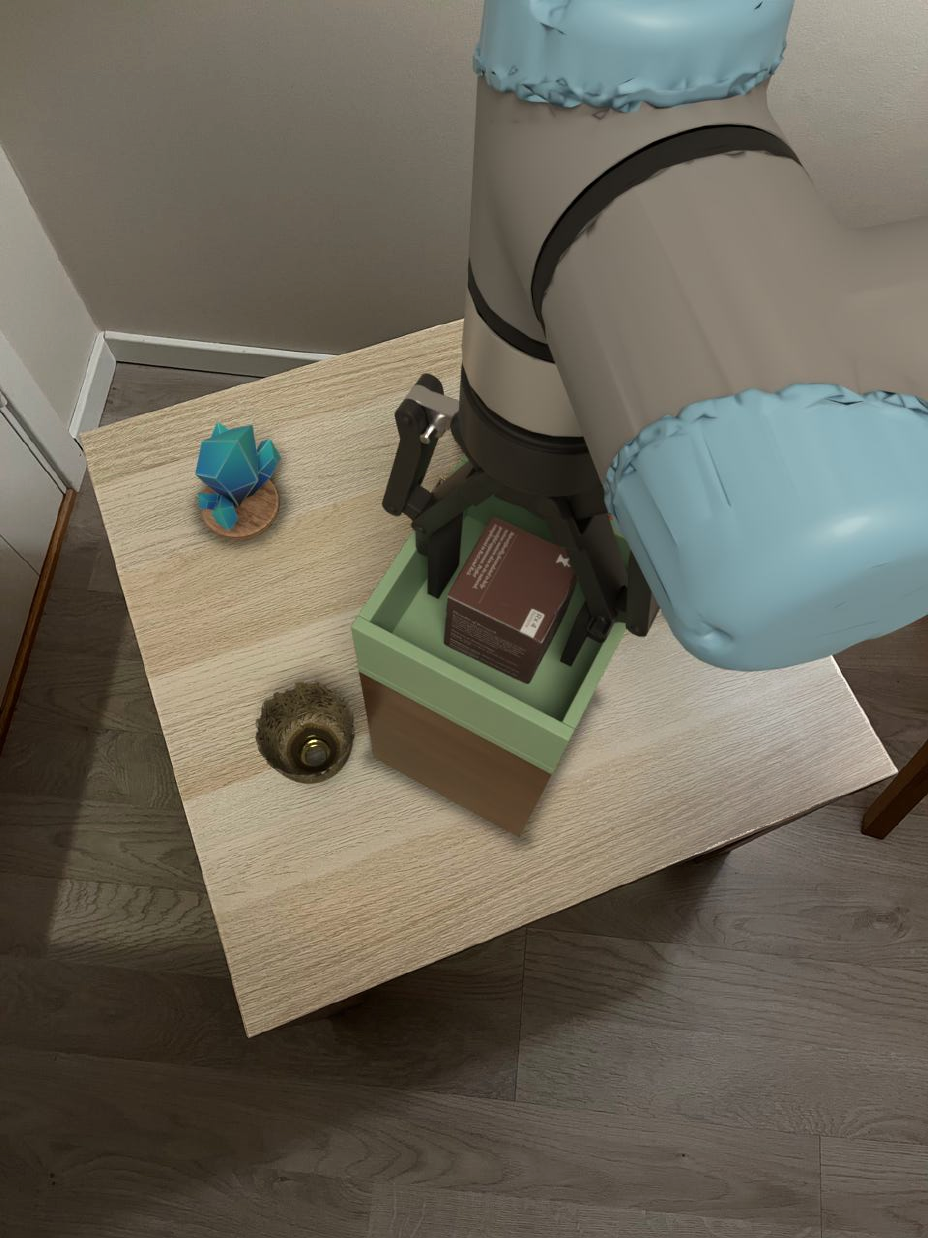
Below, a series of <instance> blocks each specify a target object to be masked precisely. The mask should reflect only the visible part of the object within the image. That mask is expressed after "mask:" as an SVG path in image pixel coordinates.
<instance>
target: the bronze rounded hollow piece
mask: <svg viewBox="0 0 928 1238" xmlns="http://www.w3.org/2000/svg"><path fill="white" fill-rule="evenodd" d="M255 727H256V729H257V731H256V733H255V736H254V737H255V738H254V739H255V741H256V746H257V750H258V752H259V755H260V756H262V758H263V759H264V760H265V761H266V764H267V765H268V766H270V767H271V768H273V769H274V770H275V771H276V772H277V773H279V774H280V775H282V776H283V777H285V778H286V779H289V780H290V781H293V782H295V783H300V784H305V785H311V784H312V785H313V784H319V783H322V782H326V781H328V780H330V779H331V778H333V777H335V776H336V775H337V774H338V773H340V771H341V770H343V768H344V767H345V766H346V764H347V763H348V760H349V758H350V757H351V753H352V750H353V745H354V739H355V734H356V726H355V715H354V712H353V709H352V708H351V706H350V704H349V702H348V701H347V700H345V699H344V698H342V696H341V694H340V693H339V691H338V690H337V689H333V690H331V689H330V688H329V687H328V686H327V685H326V684H324V683H323V682H320V681H316V680H315V681H311V682H304V681H297V682H295V683H294V688H291V689H286V690H285V691H284V692H279V691H275V692H274V693H273V695H272V698H269V699H266V700H264V701H263V703H262V705H261V709H260V717H257V718H256V719H255ZM316 747H317V748H318V747H319V748H321V749H323V751H324V752H325V759H324V761H323V762H322V763H320V764H317V765H313V764H311V763H310V762H309V761H308V759H307V754H308V752H309V751H310V750H311V749H312V748H316Z"/></svg>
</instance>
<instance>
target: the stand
mask: <svg viewBox="0 0 928 1238" xmlns="http://www.w3.org/2000/svg"><path fill="white" fill-rule="evenodd" d="M615 653H616V651H615V652H614V654H615ZM358 675H359V681H360V686H361V693H362V697H363V704H364V708H365V714H366V721H367V725H368V732H369V738H370V742H371V748H372V753H373V758H374V759H375V760H377V761H379V762H381V763H383V764H385V765H386V766H388V767H390V768H391V769H394V770H395V771H397V772H399V773H401V774H403V775H405V776H406V777H408V778H410V779H411V780H414V781H416V782H417V783H419V784H421V785H422V786H424V787H426V788H427V789H429V790H432V791H434V792H435V793H436V794H439V795H441V796H442V797H445V798H446V799H448V800H450V801H452V802H454V803H456V804H458V805H459V806H460V807H463V808H464V809H466V810H468V811H470V812H472V813H474V814H475V815H477V816H479V817H481V818H483V819H484V820H486V821H488V822H489V823H492V824H493V825H496V826H497V827H499V828H500V829H503V830H504V831H506V832H508V833H510V834H512V835H514V836H515V837H517V838H518V839H519V838H521V837H522V834H523V832H524V830H525V828H526V826H527V824H528V822H529V820H530V818H531V817H532V814H533V813H534V811H535V809H536V807H537V805H538V802H539V801H540V799H541V797H542V795H543V793H544V791H545V789H546V788H547V785H548V783H549V781H550V779H551V777H552V775H553V774H550V773H548V772H546V771H544V770H543V769H541V768H539V767H537V766H535V765H533V764H531V763H529V762H528V761H526V760H524V759H522V758H520V757H518V756H516V755H514V754H513V753H511V752H509V751H507V750H505V749H503V748H501V747H500V746H498V745H496V744H494V743H492V742H490V741H488V740H486V739H485V738H483V737H481V736H479V735H477V734H475V733H473V732H471V731H470V730H468V729H466V728H464V727H462V726H460V725H458V724H456V723H455V722H453V721H451V720H449V719H447V718H445V717H443V716H441V715H440V714H438V713H436V712H434V711H432V710H430V709H428V708H427V707H425V706H423V705H421V704H419V703H417V702H415V701H413V700H412V699H410V698H408V697H406V696H404V695H402V694H400V693H398V692H397V691H395V690H393V689H391V688H389V687H387V686H385V685H383V684H382V683H380V682H378V681H376V680H374V679H372V678H370V677H368V676H367V675H365V674H363V673H361V672H359V671H358Z"/></svg>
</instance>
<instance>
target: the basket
mask: <svg viewBox="0 0 928 1238" xmlns="http://www.w3.org/2000/svg"><path fill="white" fill-rule="evenodd" d="M467 461H469V460H468V458H467V457H466V455H465V454H464V453H463V455H462V457H461V458H460V460H459V461H458V462H457V464H456V465H455V466H454V468H453V470H452V471H451V473H450V475H452V474H453V473H454V472H455V471H457V470H458V469H459V468H460V467H461V466H463V465H464V464H465V463H466V462H467ZM492 517H496V518H498V519H500V520H503V521H505V522H507V523H509V524H511V525H513V526H516V527H518V528H520V529H522V530H524V531H526V532H529V533H531V534H533V535H535V536H537V537H539V538H541V539H544V540H546V541H548V542H550V543H552V544H555V542H554V540H553V537H552V535H551V532H550V530H549V528H548V525H547V523H546V521H544V520H542V519H540V518H538V517H537V516H535V515H534V514H532V513H531V512H529V511H528V510H526V509H524V508H522V507H519V506H516V505H513V504H510V503H507V502H505V501H503V500H501V499H499V498H497V497H495V496H494V494H493V495H492V496H490V497H489V498H487V499H486V500H485V501H483V502H482V503H480V504H479V505H478V506H476V507H475V506H474V505H472V506H470V507H469V508H467V509H466V510H465V511H463V522H462V535H461V548H460V561H459V566H458V568H457V570H456V571H455V573H454V574H453V576H452V578H451V579H450V581H449V582H448V584H447V586H446V587H445V589H444V591H443V592H442V594H441V595H440V597H439V599H437V598H435V597H433V596H431V595H429V594H427V587H428V557H426V556H424V555H422V554H420V553H419V552H418V551H417V549H416V537H415V531H414V530H412V532H411V534H410V535H409V537H408V538H407V540H406V542H404V544H403V546H402V547H401V549H400V550H399V552H398V554H397V555H396V556H395V558H394V560H392V562H391V564H390V566H389V567H388V568H387V570H386V571H385V573H384V575H383V576H382V577H381V580H380V581H379V582H378V584H377V585H376V587H375V588H374V590H373V591H372V593H371V594H370V595H369V597H368V598H367V601H366V602H365V604H364V605H363V607H362V608H361V609H360V611H359V613H358V615H357V616H356V617H355V619H354V621H353V622H352V624H351V625H350V629H351V630H350V631H351V635H352V641H353V647H354V652H355V653H354V654H355V658H356V663H357V670H358V673H359V672H361V673H363V674H365V675H367V676H368V677H370V678H372V679H374V680H376V681H378V682H380V683H382V684H383V685H385V686H387V687H389V688H391V689H393V690H395V691H397V692H398V693H400V694H402V695H404V696H406V697H408V698H410V699H412V700H413V701H415V702H417V703H419V704H421V705H423V706H425V707H427V708H428V709H430V710H432V711H434V712H436V713H438V714H440V715H441V716H443V717H445V718H447V719H449V720H451V721H453V722H455V723H456V724H458V725H460V726H462V727H464V728H466V729H468V730H470V731H471V732H473V733H475V734H477V735H479V736H481V737H483V738H485V739H486V740H488V741H490V742H492V743H494V744H496V745H498V746H500V747H501V748H503V749H505V750H507V751H509V752H511V753H513V754H514V755H516V756H518V757H520V758H522V759H524V760H526V761H528V762H529V763H531V764H533V765H535V766H537V767H539V768H541V769H543V770H544V771H546V772H548V773H550V774H552V775H554V772H555V770H556V768H557V766H558V763H559V762H560V760H561V758H562V756H563V754H564V752H565V750H566V748H567V746H568V744H569V742H570V740H571V738H572V737H573V735H574V732H575V731H576V729H577V726H578V725H579V724H580V721H581V719H582V717H583V715H584V713H585V711H586V709H587V707H588V705H589V703H590V701H591V699H592V698H593V695H594V694H595V691H596V689H597V687H598V685H599V683H601V680H602V678H603V676H604V675H605V672H606V670H607V668H608V667H609V665H610V663H611V660H612V658H613V657H614V654H615V653H616V651H617V648H619V647H618V646H619V645H620V643H621V641H622V639H623V637H624V635H625V633H626V631H627V629H626V626H625V623H620V622H618V623H615V624H614V626H613V628H612V629H611V631H610V633H609V635H608V637H607V639H606V641H605V642H603V643H599V642H597V641H595V640H593V639H591V638H589V637H587V638H586V640H585V642H584V643H583V645H582V647H581V649H580V651H579V653H578V655H577V657H576V659H575V660H574V662H573V664H572V666H571V667H570V666H568V665H566V664H564V663H562V662H560V659H561V657H562V654H563V651H564V649H565V646H566V643H567V641H568V638H569V635H570V633H571V630H572V627H573V625H574V622H575V619H576V617H577V615H578V613H579V611H580V609H581V607H582V605H583V604H584V602H585V598H584V595H583V593H582V590H581V588H580V585H579V583H578V580H577V583H576V586H575V589H574V592H573V594H572V597H571V600H570V603H569V605H568V609H567V611H566V613H565V615H564V617H563V619H562V622H561V623H560V626H559V628H558V630H557V632H556V634H555V636H554V638H553V640H552V642H551V644H550V646H549V648H548V649H547V652H546V653H545V655H544V657H543V659H542V661H541V663H540V664H539V666H538V668H537V670H536V672H535V675H534V676H533V678H532V680H531V682H530V683H529V684H528V685H527V684H525V683H521V682H519V681H517V680H515V679H513V678H511V677H510V676H507V675H505V674H503V673H501V672H499V671H497V670H495V669H493V668H491V667H489V666H487V665H485V664H483V663H481V662H479V661H477V660H474V659H473V658H471V657H468V656H466V655H464V654H462V653H459V652H457V651H456V650H453V649H451V648H449V647H447V646H446V645H445V644H444V635H445V621H446V610H447V601H448V597H447V595H448V593H449V591H450V589H451V587H452V585H453V584H454V581H455V580H456V578H457V576H458V574H459V573H460V571H461V569H462V568H463V566H464V564H465V562H466V561H467V559H468V557H469V555H470V554H471V552H472V550H473V548H474V547H475V545H476V543H477V541H478V539H479V538H480V536H481V535H482V533H483V531H484V529H485V528H486V526H487V525H488V523H489V521H490V520H491V519H492ZM610 522H611V525H612V528H613V531H614V534H615V537H616V541H617V544H618V547H619V550H620V553H621V556H622V559H623V562H624V565H625V568H626V571H627V574H628V566H629V554H630V551H631V548H630V546H629V544H628V542H627V541H626V540H625V539H624V537H623V536H622V535H621V534H620V533H619V531H618V530H617V529H616V528H615V525H614V522H613V521H612V520H610ZM561 548H562V547H561ZM563 549H565V548H563ZM614 652H615V653H614Z"/></svg>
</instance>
